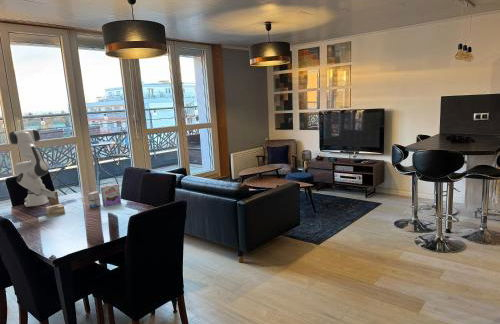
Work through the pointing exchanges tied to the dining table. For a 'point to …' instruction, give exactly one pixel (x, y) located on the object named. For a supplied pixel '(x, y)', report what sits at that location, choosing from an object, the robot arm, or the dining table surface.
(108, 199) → the candy box
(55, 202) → the walnut pillar
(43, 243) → the dining table surface
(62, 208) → the beech block
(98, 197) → the ink box
